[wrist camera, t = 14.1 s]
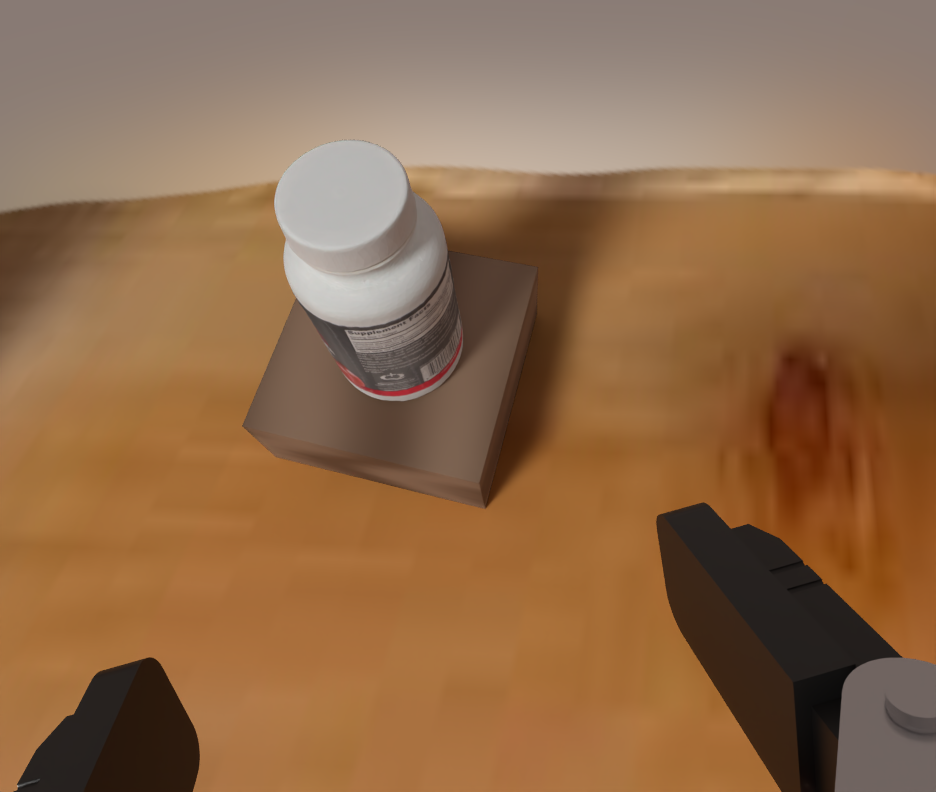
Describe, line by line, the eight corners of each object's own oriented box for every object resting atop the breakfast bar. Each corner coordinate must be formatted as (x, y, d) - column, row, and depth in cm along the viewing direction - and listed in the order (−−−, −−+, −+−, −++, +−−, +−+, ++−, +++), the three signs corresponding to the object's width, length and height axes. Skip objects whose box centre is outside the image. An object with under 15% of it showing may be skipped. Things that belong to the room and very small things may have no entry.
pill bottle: (322, 318, 29) (230, 156, 20) (437, 273, 30) (397, 95, 21) (360, 425, 27) (277, 297, 18) (484, 376, 27) (462, 227, 19)
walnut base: (275, 456, 31) (242, 425, 27) (346, 276, 35) (325, 228, 31) (485, 508, 29) (479, 483, 26) (536, 313, 33) (538, 267, 29)
